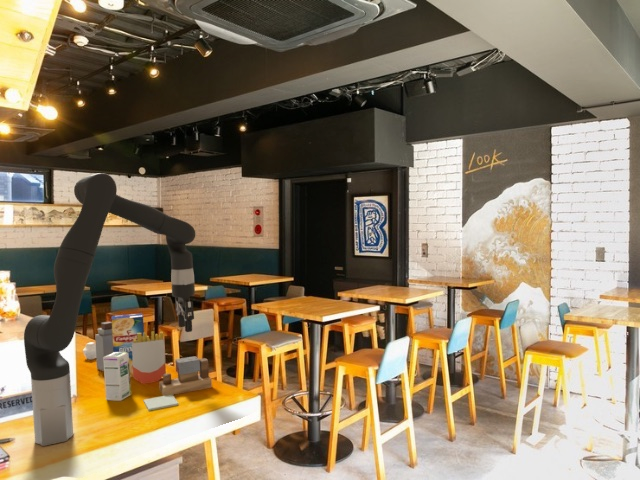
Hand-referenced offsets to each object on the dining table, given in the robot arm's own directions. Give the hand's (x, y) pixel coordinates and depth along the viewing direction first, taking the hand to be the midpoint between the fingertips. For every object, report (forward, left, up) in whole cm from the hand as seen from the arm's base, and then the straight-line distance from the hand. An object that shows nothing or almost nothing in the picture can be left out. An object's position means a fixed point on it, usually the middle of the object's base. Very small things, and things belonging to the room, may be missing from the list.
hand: (185, 329), depth 173 cm
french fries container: (+15, +10, -21) cm, 27 cm away
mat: (-10, +11, -20) cm, 25 cm away
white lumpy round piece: (+59, +26, -21) cm, 68 cm away
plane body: (-1, +1, -20) cm, 20 cm away
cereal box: (+27, +15, -21) cm, 37 cm away
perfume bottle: (+40, +21, -21) cm, 50 cm away
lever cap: (-1, 0, -14) cm, 14 cm away
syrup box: (+3, +22, -21) cm, 30 cm away
